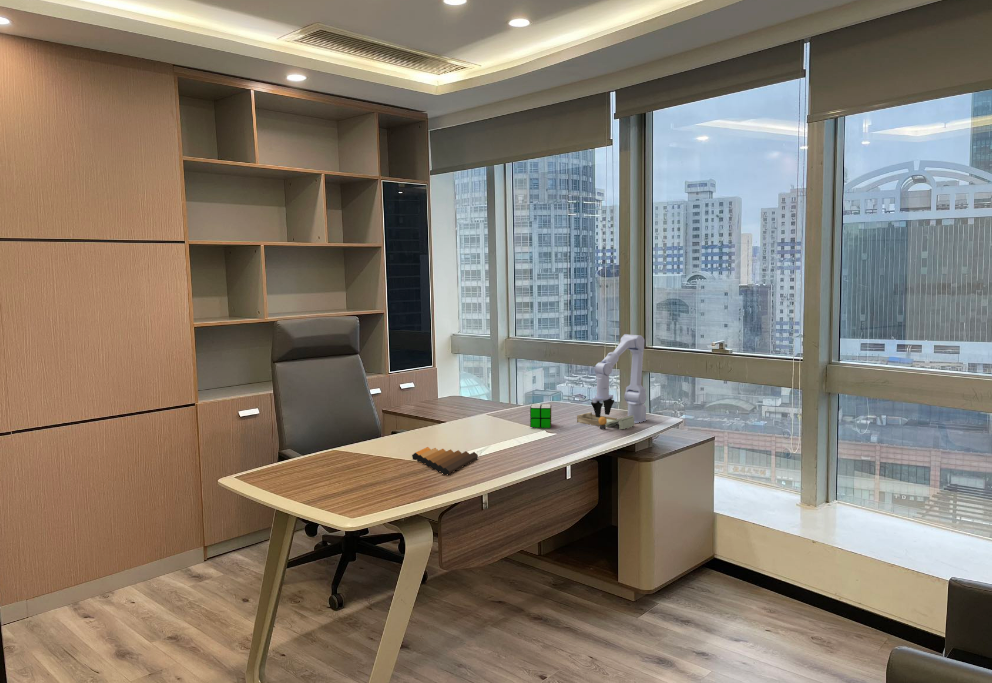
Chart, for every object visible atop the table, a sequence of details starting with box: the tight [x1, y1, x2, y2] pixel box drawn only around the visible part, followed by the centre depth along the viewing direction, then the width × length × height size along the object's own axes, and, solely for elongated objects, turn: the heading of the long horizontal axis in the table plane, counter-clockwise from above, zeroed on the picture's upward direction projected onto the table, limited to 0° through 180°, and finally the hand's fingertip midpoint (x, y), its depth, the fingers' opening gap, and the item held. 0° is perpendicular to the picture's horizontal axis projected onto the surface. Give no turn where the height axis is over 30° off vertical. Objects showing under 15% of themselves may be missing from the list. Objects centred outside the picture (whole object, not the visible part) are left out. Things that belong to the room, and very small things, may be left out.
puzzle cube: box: [529, 403, 552, 429], centre depth 345 cm, size 10×10×10 cm
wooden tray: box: [576, 411, 618, 427], centre depth 352 cm, size 11×16×4 cm
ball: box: [598, 417, 607, 425], centre depth 338 cm, size 4×4×4 cm
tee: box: [599, 425, 607, 430], centre depth 338 cm, size 3×3×2 cm
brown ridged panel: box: [411, 446, 479, 475], centre depth 278 cm, size 25×3×25 cm
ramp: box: [605, 415, 635, 430], centre depth 344 cm, size 10×16×6 cm, turn 46°
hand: (602, 415), depth 337 cm, fingers open, 7 cm apart
